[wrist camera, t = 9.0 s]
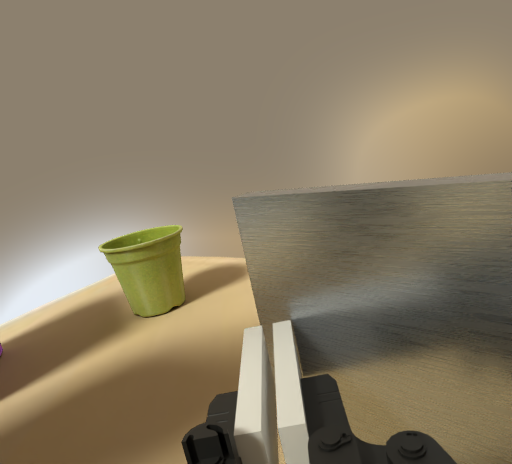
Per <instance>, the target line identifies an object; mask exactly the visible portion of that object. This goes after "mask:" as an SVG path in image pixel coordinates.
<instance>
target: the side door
mask: <svg viewBox="0 0 512 464" xmlns="http://www.w3.org/2000/svg"><path fill="white" fill-rule="evenodd" d="M232 201H233V205H234V210H235V214H236V219H237V223H238V228H239V231H240V236H241V241H242V245H243V250H244V254H245V259H246V263H247V268H248V272H249V277H250V281H251V286H252V290H253V295H254V299H255V304H256V308H257V313H258V317H259V322H260V326H261V325H262V328H263V332H264V337H265V341H266V345H267V350H268V354H269V359H270V363H271V368H272V372H273V376H274V381H275V363H274V342H273V323H277V322H282V321H287V320H290V321H291V325H292V330H293V335H294V340H295V345H296V349H297V354H298V359H299V364H300V368H301V373H302V378H306V377H312V376H318V375H323V374H329V375H330V376H331V377H332V378H334V379H335V380H336V382H337V385H338V388H339V392H340V395H341V399H342V402H343V405H344V408H345V412H346V415H347V418H348V422H349V425H350V428H351V431H352V433H353V434H354V435H355V436H356V437H357V438H359V439H360V440H362V441H364V442H367V443H370V444H376V445H386V442H387V441H388V440H389V438H390V437H391V436H392V435H394V434H396V433H398V432H402V431H407V430H410V431H419V432H422V433H425V434H428V435H429V436H430V437H432V438H433V439H434V440H436V441H437V442H438V444H439V445H440V446H441V447H442V448H443V449H444V450H445V451H446V452H447V453H448V454H449V455H450V456H451V458H452V459H453V460H454V461H455V462H456V463H457V464H512V172H511V173H499V174H484V175H471V176H458V177H445V178H432V179H418V180H404V181H391V182H377V183H364V184H352V185H338V186H325V187H311V188H298V189H285V190H272V191H258V192H248V193H245V194H242V195H239V196H236V197H233V198H232ZM275 394H276V383H275Z"/></svg>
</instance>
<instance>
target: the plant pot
mask: <svg viewBox="0 0 512 464" xmlns="http://www.w3.org/2000/svg"><path fill="white" fill-rule="evenodd" d="M182 229H183V228H182V226H180V225H170V226H162V227H156V228H151V229H146V230H141V231H137V232H134V233H131V234H127V235H124V236H120V237H118V238H115V239H112V240H110V241H108V242H105V243H103V244H102V245H100V246H99V247H98V248H99V250H100V252H103V253H104V254H105V256H106V258H107V260H108V262H109V263H111V265H112V267H113V269H114V271H115V273H116V275H117V278H118V280H119V282H120V284H121V286H122V288H123V291H124V293H125V295H126V297H127V300H128V302H129V304H130V306H131V308H132V311H133V313H134V314H135V315H137V314H138V315H140V316H142V317H150V316H154V315H159V314H163V313H166V312H168V311H170V309H171V308H172V307H174V306H180V305H181V304H182V303H183V302H184V301H185V291H184V282H183V273H182V264H181V254H180V243H181V237H180V233H181V232H182Z"/></svg>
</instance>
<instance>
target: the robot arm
mask: <svg viewBox="0 0 512 464" xmlns="http://www.w3.org/2000/svg"><path fill="white" fill-rule="evenodd" d="M273 342H274V363H275V381H274V376H273V372H272V368H271V363H270V359H269V354H268V350H267V345H266V341H265V337H264V332H263V328H262V325H261V326H256V327H250V328H245V329H244V337H243V347H242V357H241V367H240V377H239V387H238V391H235V392H229V393H224V394H218V395H216V397H215V398H214V399H213V401H212V402H211V403H210V405H209V410H208V417H207V420H206V423H203V424H200V425H198V426H196V427H194V428H192V429H191V430H190V431H189V432H188V433H187V434H186V435H185V436H184V438H183V440H182V446H183V449H184V453H185V456H186V460H187V463H188V464H279V460H278V439H277V424H278V431H279V436H280V440H281V445H282V449H283V453H284V458H285V462H286V464H457V463H456V462H455V461H454V460H453V459H452V458H451V456H450V455H449V454H448V453H447V452H446V451H445V450H444V449H443V448H442V447H441V446H440V445H439V444H438V442H437V441H436V440H434V439H433V438H432V437H430V436H429V435H428V434H425V433H422V432H419V431H410V430H407V431H402V432H398V433H396V434H394V435H392V436H391V437H390V438H389V440H388V441H387V442H386V445H376V444H370V443H367V442H364V441H362V440H360V439H359V438H357V437H356V436H355V435H354V434H353V433H352V431H351V428H350V425H349V422H348V418H347V415H346V412H345V408H344V405H343V402H342V399H341V395H340V392H339V388H338V385H337V382H336V380H335V379H334V378H332V377H331V376H330V375H329V374H323V375H318V376H312V377H306V378H302V373H301V368H300V364H299V359H298V354H297V349H296V345H295V340H294V335H293V330H292V325H291V321H290V320H287V321H282V322H277V323H273ZM275 383H276V396H275ZM276 403H277V417H276Z"/></svg>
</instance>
